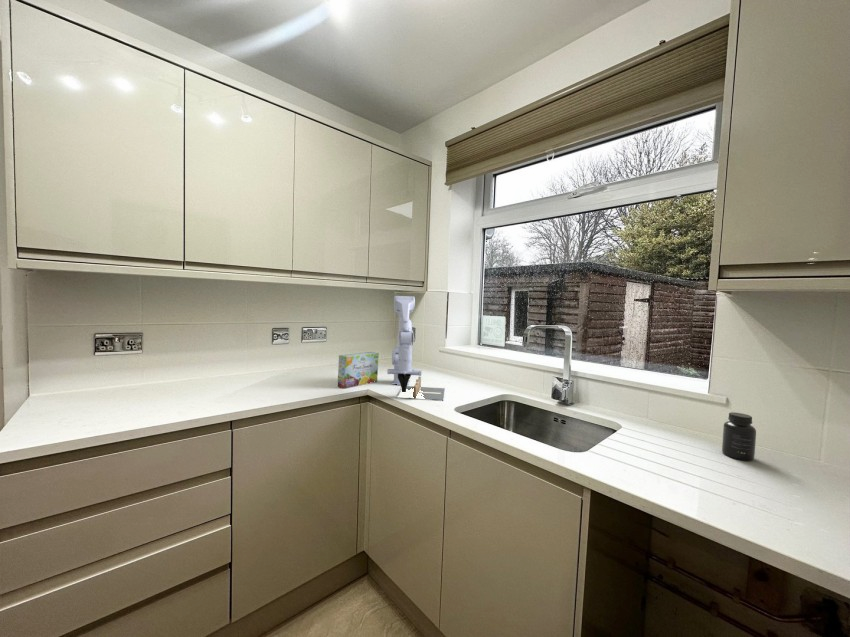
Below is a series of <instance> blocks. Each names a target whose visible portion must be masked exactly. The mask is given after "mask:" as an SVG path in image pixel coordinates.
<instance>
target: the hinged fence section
mask: <svg viewBox="0 0 850 637" xmlns="http://www.w3.org/2000/svg"><path fill="white" fill-rule="evenodd" d="M418 385H419V382H416V381H415V383H414V392H413V397H414V398H416V396H417V394H418Z"/></svg>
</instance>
